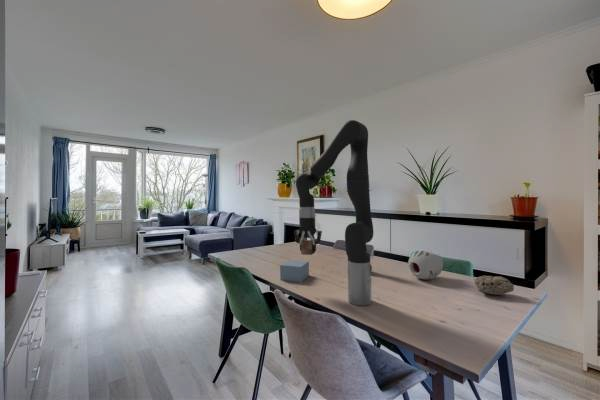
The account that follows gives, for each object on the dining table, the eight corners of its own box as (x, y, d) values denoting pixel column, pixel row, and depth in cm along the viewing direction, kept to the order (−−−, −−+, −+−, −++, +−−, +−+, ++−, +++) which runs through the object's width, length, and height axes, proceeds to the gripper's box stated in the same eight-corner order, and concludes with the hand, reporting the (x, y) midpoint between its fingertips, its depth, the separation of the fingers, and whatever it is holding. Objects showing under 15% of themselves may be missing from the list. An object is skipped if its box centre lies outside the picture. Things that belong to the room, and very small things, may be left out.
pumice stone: (511, 293, 121) (511, 275, 121) (515, 302, 111) (515, 283, 110) (473, 287, 128) (473, 271, 128) (474, 296, 118) (475, 278, 117)
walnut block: (314, 252, 131) (314, 240, 130) (311, 254, 126) (311, 242, 126) (304, 252, 132) (304, 239, 132) (301, 254, 128) (301, 241, 128)
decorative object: (453, 280, 139) (453, 251, 139) (425, 285, 132) (425, 254, 132) (429, 272, 154) (428, 245, 153) (402, 276, 147) (402, 248, 146)
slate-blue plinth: (309, 275, 152) (308, 261, 152) (301, 282, 141) (301, 266, 140) (289, 273, 156) (288, 259, 156) (280, 280, 145) (280, 265, 145)
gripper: (290, 217, 128) (291, 253, 128) (319, 217, 123) (320, 254, 123) (296, 215, 135) (296, 250, 135) (323, 215, 130) (324, 251, 130)
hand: (308, 252), depth 129 cm, fingers closed on walnut block, 5 cm apart
